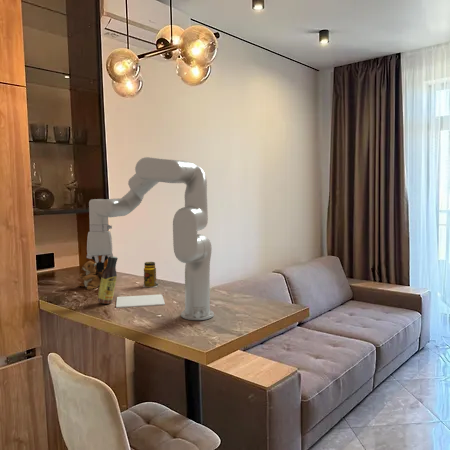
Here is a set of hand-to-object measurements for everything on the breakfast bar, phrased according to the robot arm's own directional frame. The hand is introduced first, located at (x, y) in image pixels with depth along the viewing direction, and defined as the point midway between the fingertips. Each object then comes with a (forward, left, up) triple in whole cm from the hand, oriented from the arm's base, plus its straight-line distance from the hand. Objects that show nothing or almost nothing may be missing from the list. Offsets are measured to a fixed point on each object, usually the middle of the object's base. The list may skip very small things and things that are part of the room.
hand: (100, 271), depth 179 cm
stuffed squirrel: (+34, +5, -14) cm, 37 cm away
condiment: (+29, -22, -14) cm, 39 cm away
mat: (0, -16, -14) cm, 21 cm away
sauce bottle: (0, -1, -14) cm, 14 cm away
